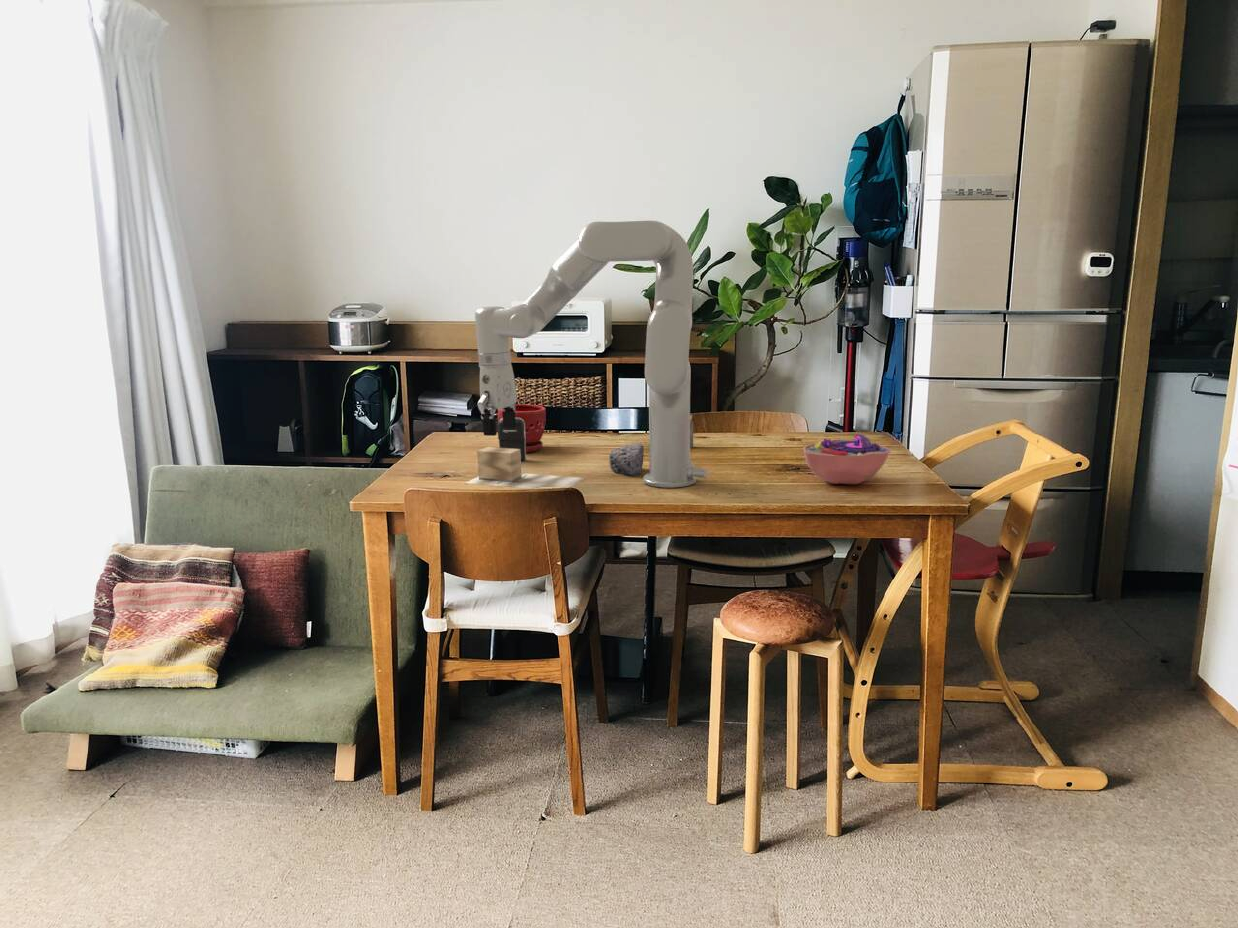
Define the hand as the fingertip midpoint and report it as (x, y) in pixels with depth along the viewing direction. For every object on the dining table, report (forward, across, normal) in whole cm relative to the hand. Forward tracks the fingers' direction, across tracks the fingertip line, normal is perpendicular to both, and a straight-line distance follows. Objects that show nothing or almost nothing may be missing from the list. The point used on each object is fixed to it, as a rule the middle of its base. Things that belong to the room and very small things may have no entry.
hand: (500, 431), depth 226 cm
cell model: (+15, +22, -78) cm, 82 cm away
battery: (+12, +18, +7) cm, 23 cm away
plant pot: (+12, +32, +11) cm, 36 cm away
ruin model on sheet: (+14, +47, -27) cm, 56 cm away
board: (+12, 0, -6) cm, 13 cm away
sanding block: (+12, 0, +1) cm, 12 cm away
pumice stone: (+13, +16, -26) cm, 33 cm away
